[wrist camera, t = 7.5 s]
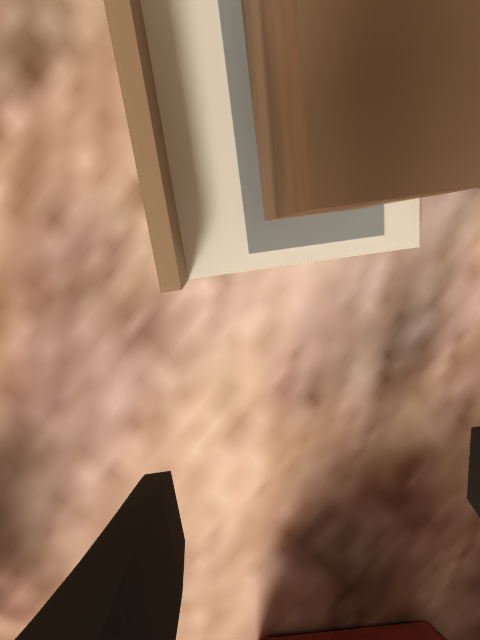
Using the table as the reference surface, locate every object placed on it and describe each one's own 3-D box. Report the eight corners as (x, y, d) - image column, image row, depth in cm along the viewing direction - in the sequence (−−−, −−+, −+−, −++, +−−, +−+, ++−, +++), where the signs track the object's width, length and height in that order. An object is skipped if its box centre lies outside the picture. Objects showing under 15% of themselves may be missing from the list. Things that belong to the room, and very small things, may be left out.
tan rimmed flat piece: (406, -172, 13) (485, -342, 9) (408, 246, 17) (463, 249, 13) (97, -138, 13) (45, -299, 9) (174, 278, 17) (160, 292, 13)
